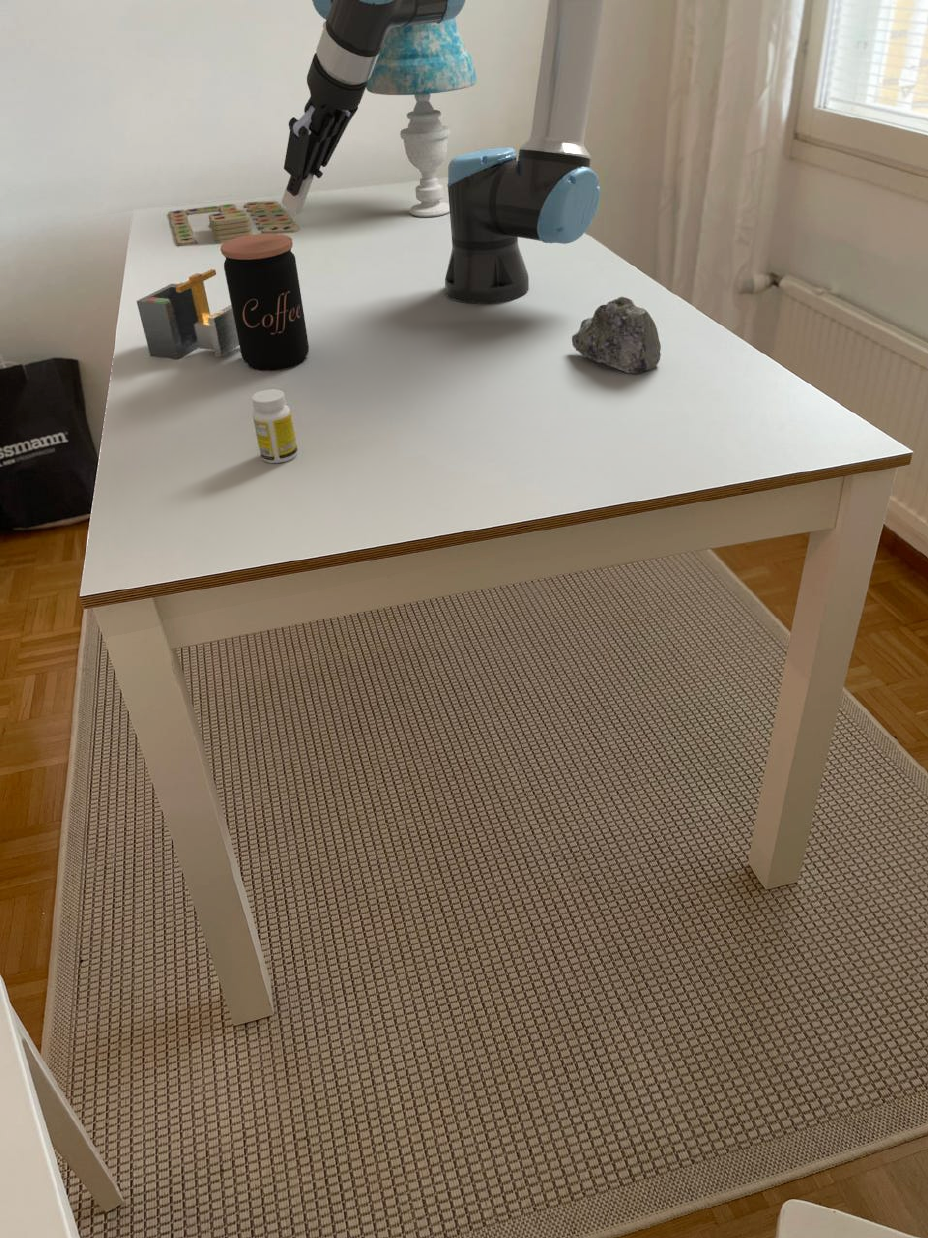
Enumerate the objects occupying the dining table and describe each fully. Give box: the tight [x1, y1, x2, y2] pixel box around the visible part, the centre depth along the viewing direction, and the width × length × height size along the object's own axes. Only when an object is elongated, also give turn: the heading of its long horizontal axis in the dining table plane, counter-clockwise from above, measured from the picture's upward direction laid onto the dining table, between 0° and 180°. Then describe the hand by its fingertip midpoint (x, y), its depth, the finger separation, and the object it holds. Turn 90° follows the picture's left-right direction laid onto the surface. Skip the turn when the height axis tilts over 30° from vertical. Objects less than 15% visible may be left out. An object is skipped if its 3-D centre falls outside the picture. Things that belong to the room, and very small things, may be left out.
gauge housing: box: [136, 282, 200, 360], centre depth 160 cm, size 6×9×9 cm, turn 156°
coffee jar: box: [220, 233, 310, 372], centre depth 151 cm, size 11×11×18 cm
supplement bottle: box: [252, 388, 298, 464], centre depth 125 cm, size 5×5×8 cm
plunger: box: [176, 268, 240, 357], centre depth 156 cm, size 6×9×11 cm, turn 156°
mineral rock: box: [571, 296, 662, 375], centre depth 145 cm, size 13×11×10 cm
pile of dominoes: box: [168, 200, 300, 247], centre depth 228 cm, size 35×27×6 cm
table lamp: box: [365, 17, 478, 218], centre depth 214 cm, size 24×24×40 cm
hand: (290, 207), depth 147 cm, fingers closed
